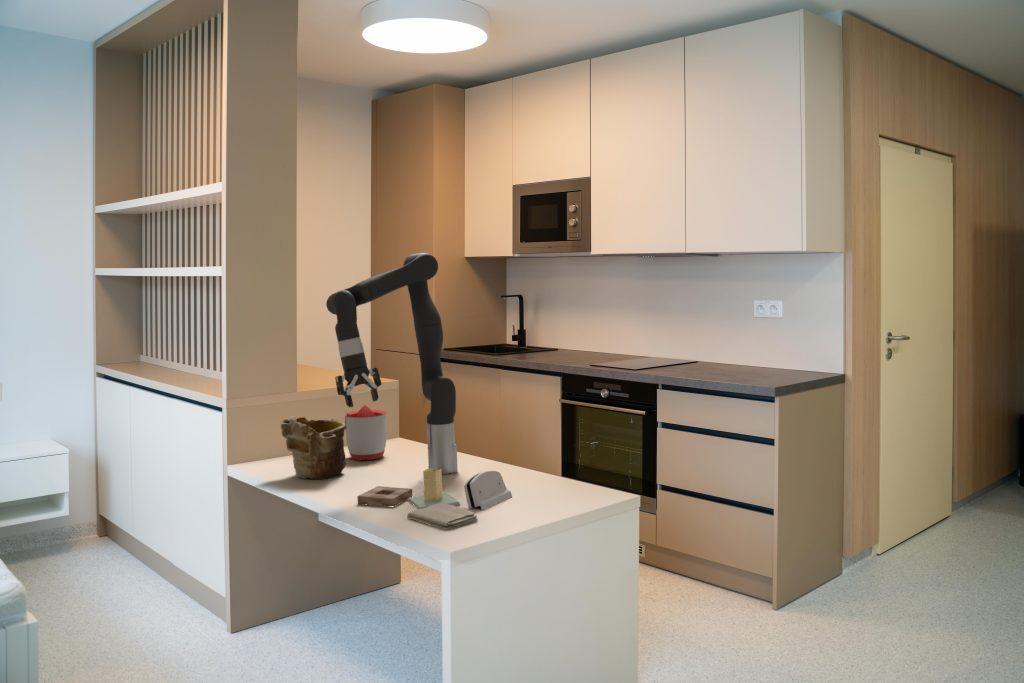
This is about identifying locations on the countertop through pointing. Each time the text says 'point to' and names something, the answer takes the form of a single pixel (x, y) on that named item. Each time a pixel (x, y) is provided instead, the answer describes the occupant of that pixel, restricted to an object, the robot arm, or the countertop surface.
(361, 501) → the socket base
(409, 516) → the washcloth
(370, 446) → the citrus juicer
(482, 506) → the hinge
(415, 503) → the mat
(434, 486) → the peg
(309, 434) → the ceramic vessel
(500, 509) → the countertop surface
